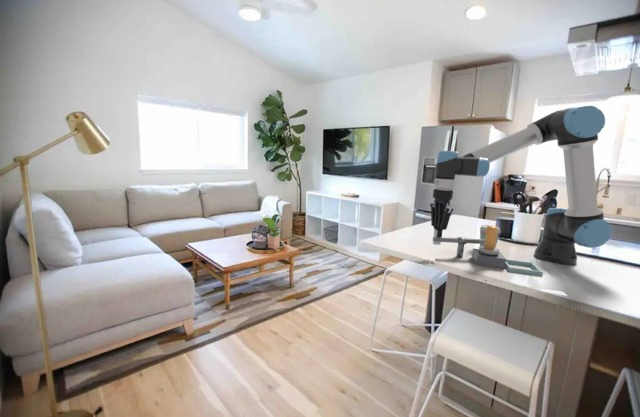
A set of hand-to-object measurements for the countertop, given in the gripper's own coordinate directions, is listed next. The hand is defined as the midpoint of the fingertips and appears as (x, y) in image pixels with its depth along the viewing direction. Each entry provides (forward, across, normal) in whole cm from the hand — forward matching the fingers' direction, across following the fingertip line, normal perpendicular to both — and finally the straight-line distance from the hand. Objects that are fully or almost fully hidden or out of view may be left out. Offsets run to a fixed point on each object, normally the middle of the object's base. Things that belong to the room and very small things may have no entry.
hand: (436, 244), depth 128 cm
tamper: (+5, +10, +17) cm, 20 cm away
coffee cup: (+6, -6, +31) cm, 32 cm away
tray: (+6, +17, +26) cm, 32 cm away
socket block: (+6, +8, +14) cm, 17 cm away
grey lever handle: (+6, +3, +10) cm, 12 cm away
